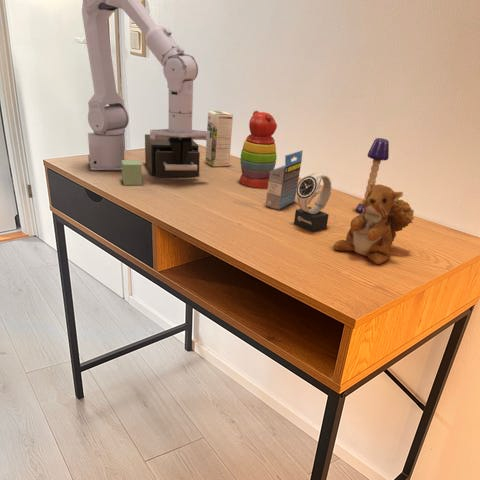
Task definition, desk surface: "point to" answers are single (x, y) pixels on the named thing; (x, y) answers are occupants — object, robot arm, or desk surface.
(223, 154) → the syrup box
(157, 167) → the black drawer
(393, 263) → the desk surface
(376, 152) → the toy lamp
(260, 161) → the stacking bear
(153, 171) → the small drawer cabinet
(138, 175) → the block
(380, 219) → the stuffed squirrel
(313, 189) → the watch
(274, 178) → the label tape box
